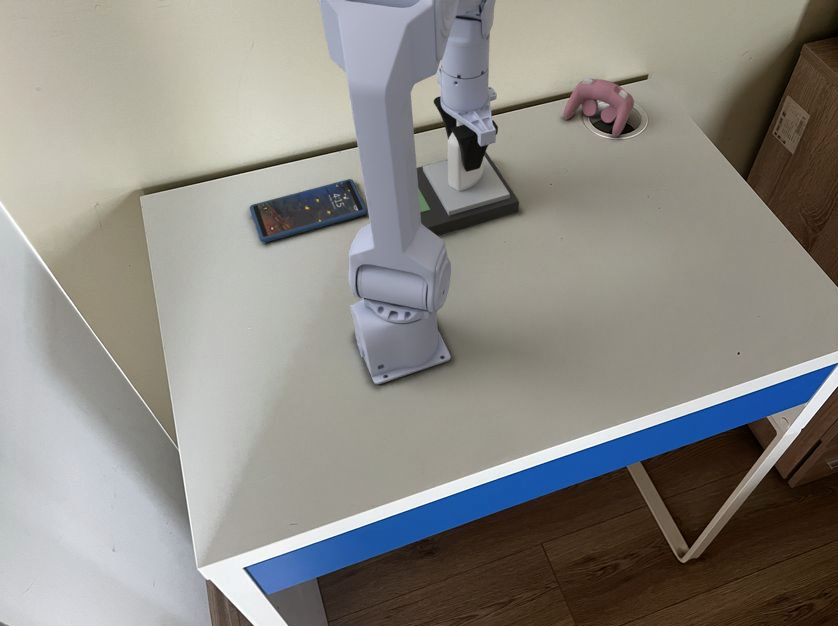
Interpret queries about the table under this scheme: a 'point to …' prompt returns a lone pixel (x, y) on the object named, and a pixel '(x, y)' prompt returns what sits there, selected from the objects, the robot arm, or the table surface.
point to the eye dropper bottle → (460, 167)
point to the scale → (462, 198)
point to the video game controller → (604, 92)
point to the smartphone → (307, 210)
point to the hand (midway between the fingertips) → (465, 157)
